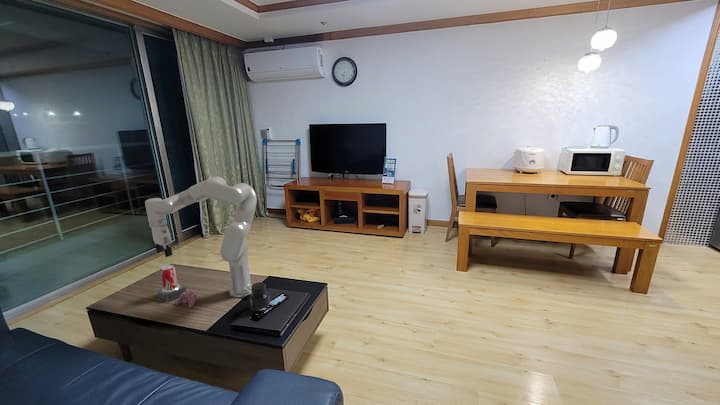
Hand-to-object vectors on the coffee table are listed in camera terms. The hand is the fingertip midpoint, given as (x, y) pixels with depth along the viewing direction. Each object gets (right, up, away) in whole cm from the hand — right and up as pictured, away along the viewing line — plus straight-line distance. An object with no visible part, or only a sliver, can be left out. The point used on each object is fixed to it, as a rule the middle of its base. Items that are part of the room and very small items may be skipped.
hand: (164, 253), depth 156 cm
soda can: (0, -19, +5) cm, 20 cm away
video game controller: (+13, -26, -3) cm, 29 cm away
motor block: (-1, -23, +7) cm, 24 cm away
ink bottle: (+52, -26, -7) cm, 59 cm away
